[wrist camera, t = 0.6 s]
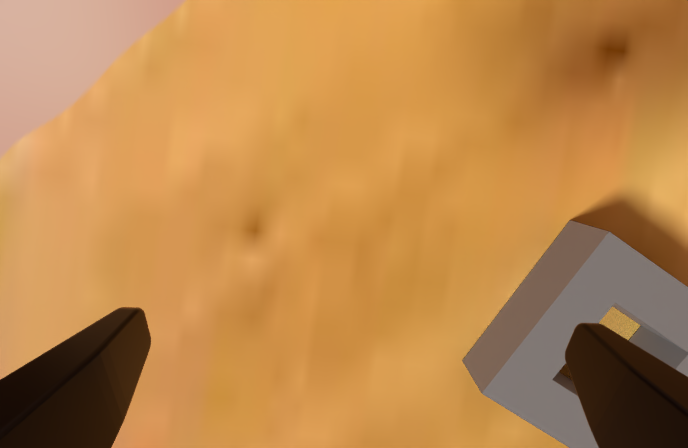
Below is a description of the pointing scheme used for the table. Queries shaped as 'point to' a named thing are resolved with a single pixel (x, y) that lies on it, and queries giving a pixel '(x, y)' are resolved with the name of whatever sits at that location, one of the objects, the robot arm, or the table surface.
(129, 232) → the table surface
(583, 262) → the rack block
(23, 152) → the table surface
